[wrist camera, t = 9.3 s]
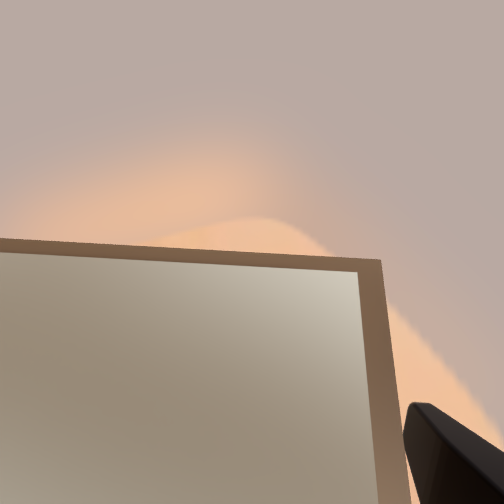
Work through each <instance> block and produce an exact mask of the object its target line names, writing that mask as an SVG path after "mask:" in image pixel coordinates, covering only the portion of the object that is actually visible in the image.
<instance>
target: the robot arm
mask: <svg viewBox="0 0 504 504" xmlns="http://www.w3.org/2000/svg"><path fill="white" fill-rule="evenodd" d="M403 440H404V448H405V452H406V455H407V459H408V462H409V466H410V469H411V473H412V476H413V480H414V483H415V487H416V490H417V494H418V497H419V501H420V504H504V452H503V451H501V450H500V449H498V448H497V447H495V446H494V445H492V444H491V443H489V442H488V441H486V440H485V439H483V438H482V437H480V436H478V435H477V434H475V433H474V432H472V431H471V430H469V429H468V428H466V427H465V426H463V425H462V424H460V423H459V422H457V421H456V420H454V419H453V418H451V417H450V416H448V415H447V414H445V413H444V412H442V411H441V410H439V409H438V408H436V407H435V406H433V405H432V404H430V403H419V402H412V403H411V404H410V405H409V407H408V410H407V415H406V420H405V425H404V430H403Z"/></svg>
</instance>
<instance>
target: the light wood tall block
mask: <svg viewBox="0 0 504 504" xmlns="http://www.w3.org/2000/svg"><path fill="white" fill-rule="evenodd" d="M0 504H411V496H410V488H409V480H408V472H407V464H406V456H405V448H404V440H403V432H402V424H401V416H400V408H399V400H398V392H397V384H396V376H395V368H394V360H393V353H392V345H391V337H390V329H389V321H388V313H387V305H386V297H385V289H384V281H383V273H382V265H381V260H377V259H376V260H375V259H359V258H342V257H325V256H307V255H289V254H271V253H254V252H236V251H218V250H200V249H183V248H165V247H147V246H130V245H112V244H94V243H76V242H59V241H41V240H23V239H5V238H0Z"/></svg>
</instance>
